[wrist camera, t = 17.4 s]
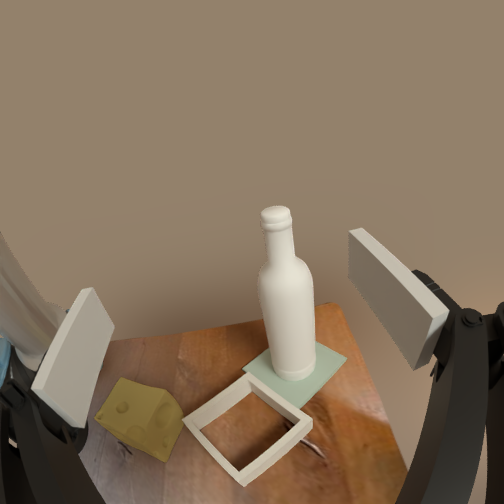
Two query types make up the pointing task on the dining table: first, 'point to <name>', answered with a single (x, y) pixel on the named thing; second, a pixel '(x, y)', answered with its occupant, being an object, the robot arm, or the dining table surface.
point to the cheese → (142, 417)
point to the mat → (300, 389)
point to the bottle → (286, 299)
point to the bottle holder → (229, 399)
